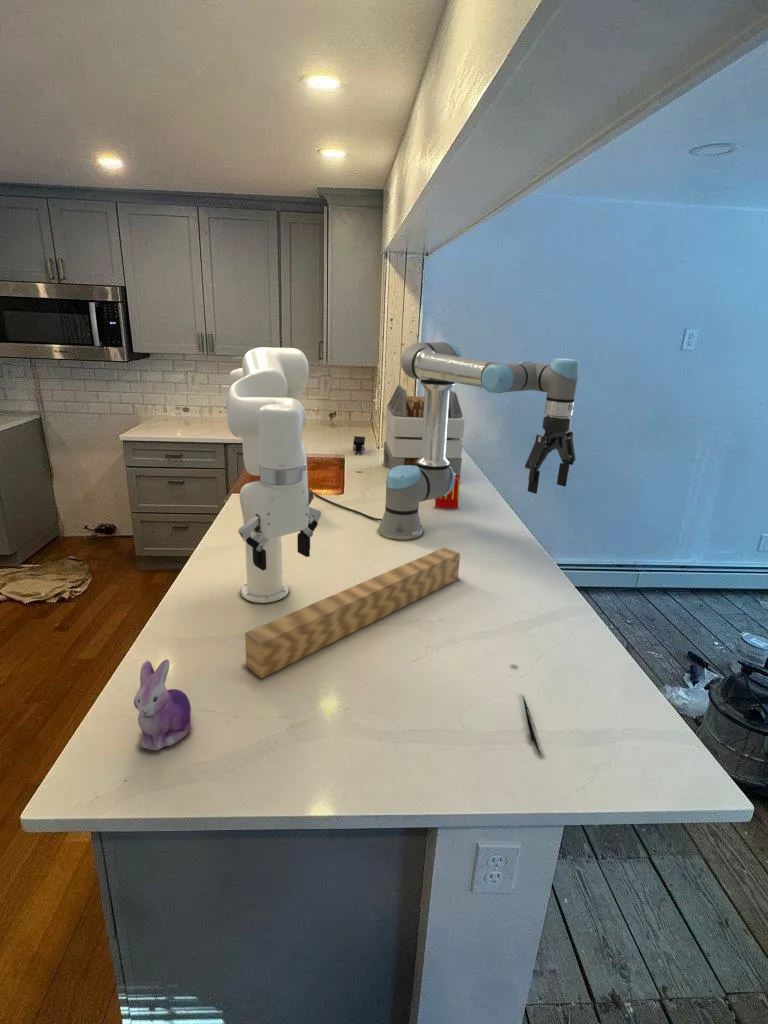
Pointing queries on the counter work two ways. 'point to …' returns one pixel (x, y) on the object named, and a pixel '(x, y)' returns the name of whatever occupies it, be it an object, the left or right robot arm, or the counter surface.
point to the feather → (530, 725)
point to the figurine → (160, 708)
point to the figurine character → (358, 444)
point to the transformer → (418, 431)
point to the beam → (346, 612)
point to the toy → (450, 496)
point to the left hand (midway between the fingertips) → (282, 560)
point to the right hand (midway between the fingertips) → (547, 488)
